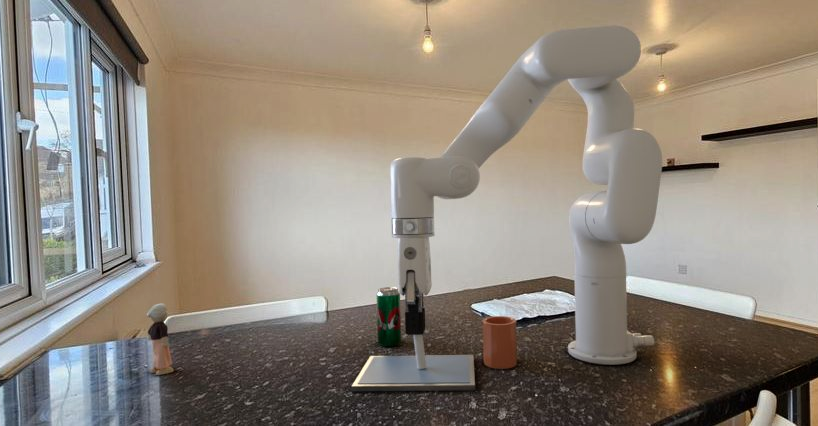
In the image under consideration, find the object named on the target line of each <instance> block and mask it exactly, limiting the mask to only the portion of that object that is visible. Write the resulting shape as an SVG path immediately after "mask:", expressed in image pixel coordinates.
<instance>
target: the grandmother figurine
mask: <svg viewBox="0 0 818 426" xmlns="http://www.w3.org/2000/svg"><path fill="white" fill-rule="evenodd" d="M167 310H168V307H167V304H165V303H157V304H156V303H155V304H154V305H153V306H151V308H149V310H148V312H147V313H146V315H145V317H146V318H150V319H151V321H152V324H151V325H150V326H149V328H148V330H147V340H148V341H151V343H152V352H153V357H152V367H153V368H151V370H150V371H149V372H150V373H152V374H154V373H155V376H161V375H168V374H170V373H173V372H174V370H175V369H174V368H173V367H172V365H173V360H172V356H171V351H170V346H169V345H170V344H169V328H168V327H169V326H168V325H167V324H166V323H165V321H166V320H167V319H168V316H169V315H168V312H167Z"/></svg>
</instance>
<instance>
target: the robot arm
mask: <svg viewBox="0 0 818 426" xmlns="http://www.w3.org/2000/svg"><path fill="white" fill-rule="evenodd" d="M641 55H642V45H641V41H640V39H639V37H638V36H637V34H636V33H635V32H634V31H632V30H631V29H630V28H628V27H625V26H622V25H614V24H613V25H601V26H600V25H599V26H590V27H579V28H567V29H559V30H554V31H551V32H548V33H546V34H544V35H542V36H541V37H539V38H538V39H537V40H536V41H535V42H534V43H533V44H532V45H531V46H530V47H528V48H527V49H526V50H525V51H524V52H523V53H522V54H521V55H520V57H519V58H518V59H517V60H516V61H515V62H514V64H513V65H512V67H511V68H510V69H509V70H508V72H507V73H506V74H505V75H504V76H503V78H502V79H501V80H500V81H499V83H498V84H497V85H496V87H495V88H494V89H493V90H492V92H490V94H489V95H488V96H487V97H486V99H485V100H484V101H483V103H482V104H481V105H480V106H479V108H478V109H477V110H476V111H475V113H474V114H473V115H472V116H471V118H470V119H469V121H468V122H467V124H465V126H464V128H463V129H462V130H461V131H460V132H459V133H458V135H457V136H456V137H455V138H454V139H453V141H452V142H451V143H450V144H449V145H448V147H447V148H446V149H445V150H444V152H443V153H442V154H441V155H440V157H432V158H425V157H417V156H412V157H410V156H407V157H406V156H405V157H398V158H396V159H394V160H392V162H391V163H390V166H389V172H390V173H389V175H390V176H389V177H390V178H389V179H390V180H389V181H390V182H389V183H390V213H391V214H390V218H391V221H390V222H391V238H394V239H397V268H398V269H397V270H398V273H397V274H398V291H399V293H400V296H402V297H403V296H404V301H405V302H404V303H405V304H404V307H405V311H404V327H405V328H404V333H405V335H407V336H413V335H422V336H423V335H424V334H425V330H426V308H425V296H427V295H429V294H430V292H431V289H432V285H433V281H432V279H433V278H432V261H431V246H430V245H431V243H430V238H431V237H435V203H434V202H435V201H434V200H435V199H434V198H435V197H437V198H439V199H441V200H457V199H458V200H459V199H463V198H466V197H468V196H470V195H471V194H473V193H474V192H475V191H476V189H477V188H478V186H479V184H480V179H481V174H480V170H479V169H480V168H481V167H482V166H483V164H484V163H485V162H486V161H487V160H488V159H489V158H490V157H492V155H493V154H494V153H496V152H497V151H498V150H499V149H501V148H502V147H504V146H505V145H506V144H508V143H509V142H511V141H512V139H514V138H515V137H516V135H518V134H519V133H520V132H521V130H522V129H523V128H524V127H525V125H526V124H527V123H528V121H529V120H530V119H531V117H532V116H533V115H534V113H536V111H537V110H538V108H540V105H542V103H543V102H544V101H545V100H546V98H547V97H548V96H549V95H550V93H551V92H552V91H553V90H554V88H555V87H557V86H559V85H560V84H562V83H564V82H565V81H568V83H569V84H570V86H571V87H572V88H573V89H574V90H575V92H577V94H578V95H579V96H580V97H581V98H582V100H583V102H584V104H585V107H586V109H587V123H586V124H587V125H586V131H585V132H586V133H585V140H584V147H583V155H582V162H581V165H582V166H581V167H582V173H583V175H584V177H585V179H587V180H588V181H589V182H590V183H592V184H594V185H600V186H607V188H606V190H599V191H591V192H587V193H584V194H582V195H580V196H579V197H578V198H576V200H574V202H573V203H572V204H571V207H570V209H569V212H568V226H569V227H568V228H569V232H570V237H571V241H572V247H573V248H572V250H573V266H574V268H573V269H574V270H573V272H574V275H573V277H574V316H575V318H574V319H575V321H574V322H575V340H572V341H571V342H569V343H568V345H567V352H568V354H569V355H570V356H571V357H573V358H575V359H576V360H578V361H582V362H585V363H590V364H595V365H596V364H597V365H605V366H607V365H609V366H612V365H614V366H618V365H624V364H625V365H626V364H629V363H632V362H634V361H635V360H636V359H637V357H638V355H637V354H638V353H637V352H638V351H637V349H636V348H638V346H643V347H653V346H654V345H655V338H654V336H653V335H649V334H648V335H642V334H641V333H640V332H634V333H632V332H631V331H629V329H628V305H627V304H628V301H627V300H628V299H627V298H628V297H627V262H626V255H625V251H624V249H623V245H632V244H637V243H639V242H641V241H643V240H644V239H645V238H646V237H648V236H649V234H650V232H651V231H652V229H653V227H654V224H655V221H656V215H657V209H658V203H659V194H660V188H661V187H660V186H661V179H662V172H663V171H662V170H663V154H662V150H661V146H660V144H659V142H658V140H657V139H656V138H655V136H654V135H653V134H652V133H650V132H649V131H647V130H644V129H642V128H634V123H635V105H634V101H633V99H632V97H631V94H630V93H629V92H628V90H627V89H626V87H625V86H624V85H623V83H622V82H621V81H620V80H619V79H620V78H621V77H624V76H625V75H627V74H628V73H630V72H631V71H633V69H634V68H635V67H636V66H637V64H638V63H639V62H640V58H641Z"/></svg>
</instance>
